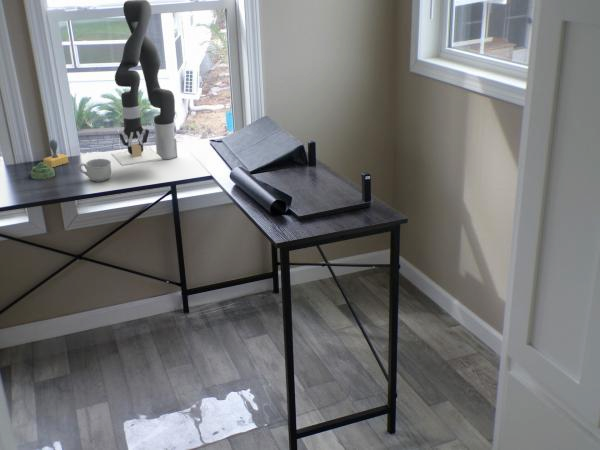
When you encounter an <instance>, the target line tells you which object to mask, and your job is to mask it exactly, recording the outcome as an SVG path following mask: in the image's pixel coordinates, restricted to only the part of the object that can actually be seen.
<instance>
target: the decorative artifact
mask: <svg viewBox="0 0 600 450" xmlns="http://www.w3.org/2000/svg"><path fill="white" fill-rule="evenodd" d="M30 175H31V176H30V177H31V179H33V180H48V179H51V178H54V177H55V175H56V173H55V167H54V168H51V167H50V166H49V164H45V163H44V162H43V160H42V161H41V160H40V162H38V163H37V165H35V166H32V169H31V171H30ZM47 178H48V179H47Z"/></svg>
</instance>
